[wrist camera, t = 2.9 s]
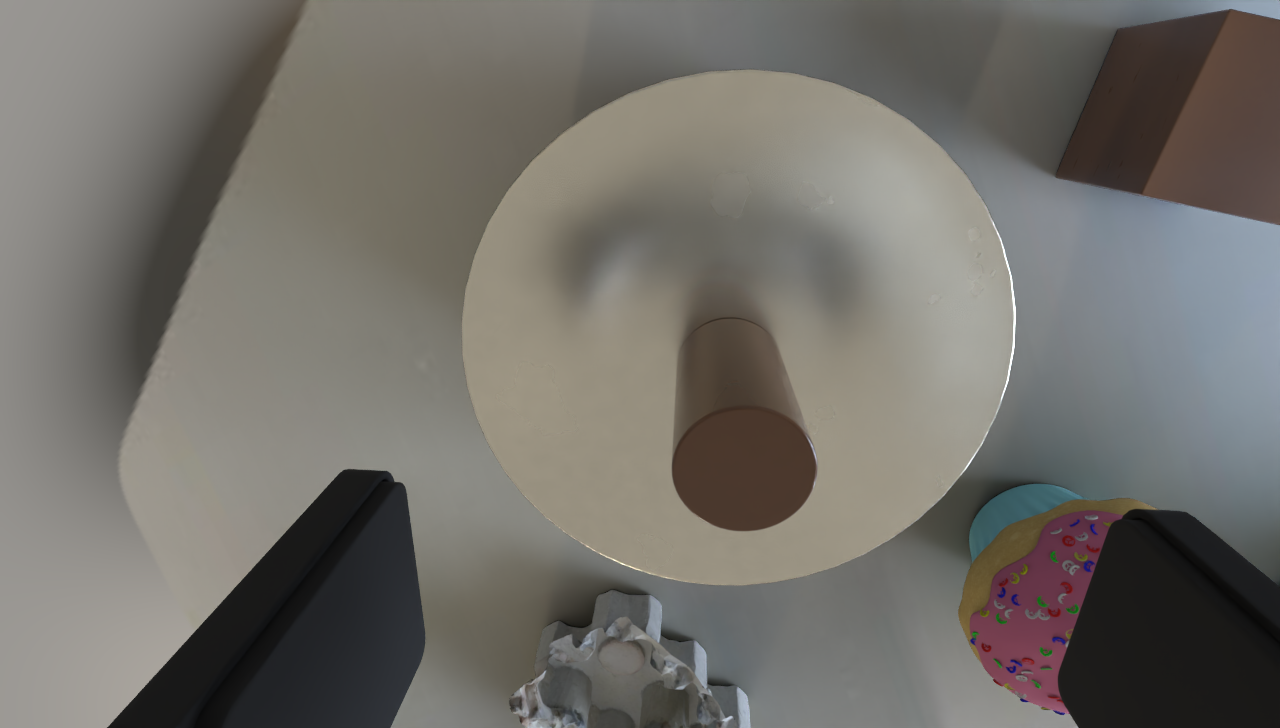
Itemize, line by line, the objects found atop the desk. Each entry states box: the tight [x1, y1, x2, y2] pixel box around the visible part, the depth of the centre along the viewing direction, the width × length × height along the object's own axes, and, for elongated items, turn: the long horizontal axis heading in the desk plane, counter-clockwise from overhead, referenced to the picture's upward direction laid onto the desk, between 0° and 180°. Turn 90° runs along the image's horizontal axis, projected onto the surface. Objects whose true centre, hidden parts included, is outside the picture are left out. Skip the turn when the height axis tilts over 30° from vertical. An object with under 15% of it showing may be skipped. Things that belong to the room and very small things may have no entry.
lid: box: [462, 69, 1016, 585], centre depth 15 cm, size 14×14×6 cm
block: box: [1055, 9, 1280, 225], centre depth 19 cm, size 5×5×5 cm
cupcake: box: [958, 484, 1159, 715], centre depth 22 cm, size 9×8×12 cm
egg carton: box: [509, 590, 751, 728], centre depth 30 cm, size 11×8×4 cm
